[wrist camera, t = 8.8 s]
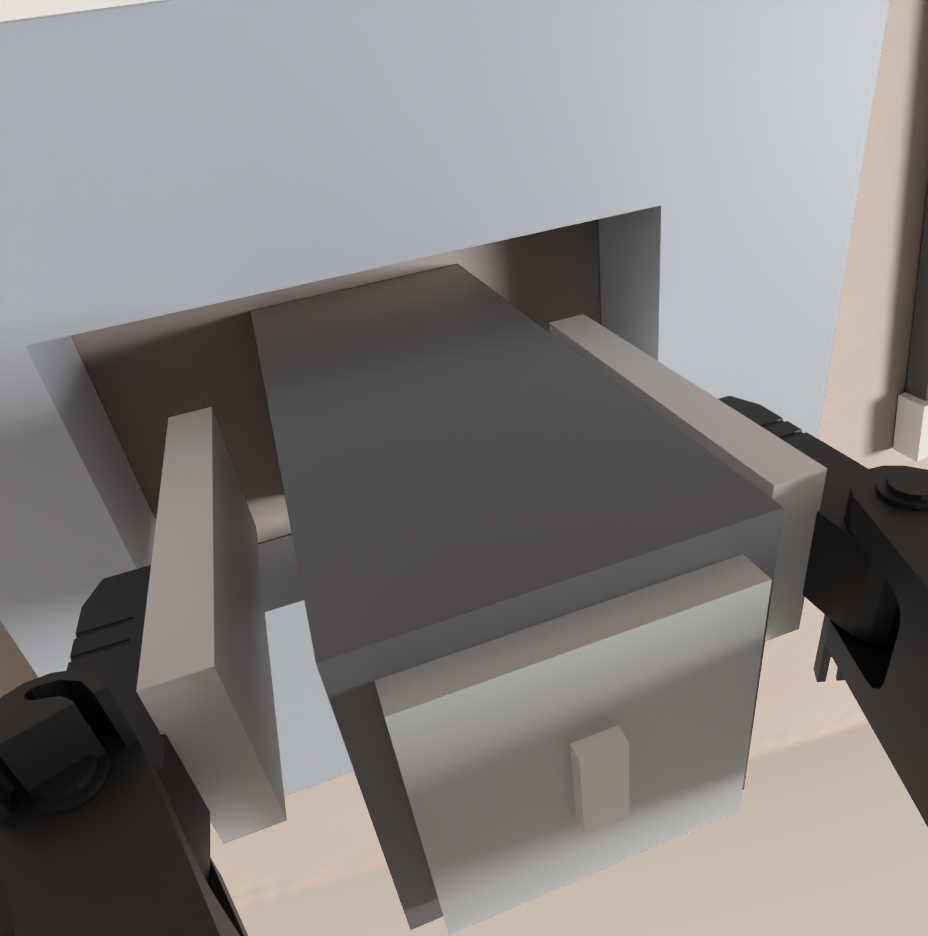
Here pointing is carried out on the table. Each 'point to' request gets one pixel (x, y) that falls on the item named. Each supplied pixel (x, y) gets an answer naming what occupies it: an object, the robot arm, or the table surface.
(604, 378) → the charger plug
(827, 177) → the plate
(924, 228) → the cable
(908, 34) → the table surface
